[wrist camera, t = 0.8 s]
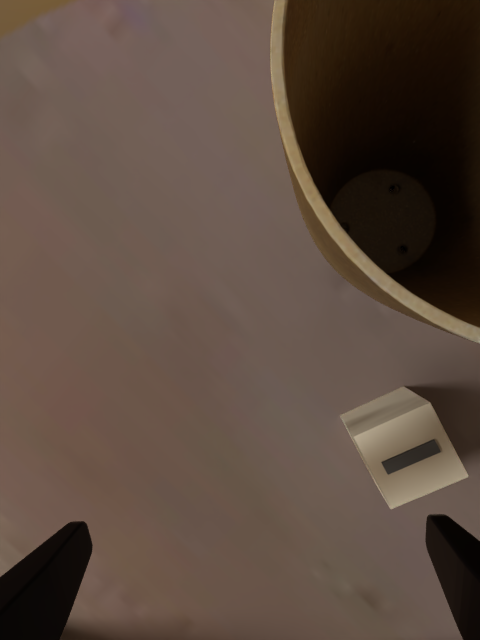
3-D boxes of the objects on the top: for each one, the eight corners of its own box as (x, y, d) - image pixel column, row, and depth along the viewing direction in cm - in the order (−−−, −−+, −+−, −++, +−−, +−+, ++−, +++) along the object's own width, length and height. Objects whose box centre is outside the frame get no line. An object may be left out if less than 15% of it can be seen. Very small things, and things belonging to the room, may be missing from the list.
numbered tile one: (434, 447, 23) (470, 478, 19) (370, 475, 23) (391, 511, 19) (402, 385, 23) (431, 403, 19) (339, 414, 23) (353, 437, 19)
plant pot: (529, 164, 21) (1289, -256, 5) (424, 360, 22) (794, 489, 7) (327, 81, 22) (465, -475, 6) (237, 272, 24) (167, 199, 8)
